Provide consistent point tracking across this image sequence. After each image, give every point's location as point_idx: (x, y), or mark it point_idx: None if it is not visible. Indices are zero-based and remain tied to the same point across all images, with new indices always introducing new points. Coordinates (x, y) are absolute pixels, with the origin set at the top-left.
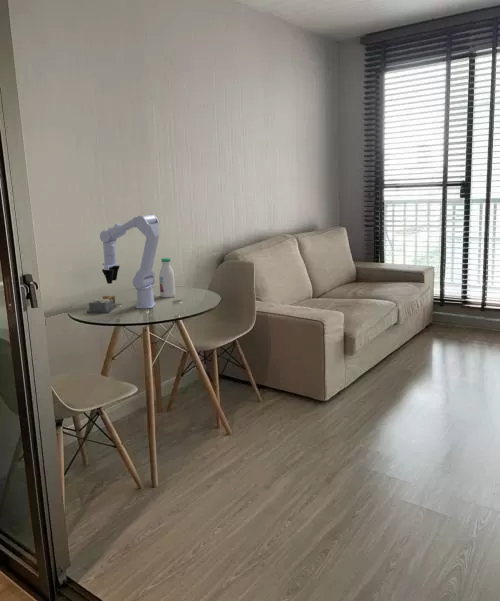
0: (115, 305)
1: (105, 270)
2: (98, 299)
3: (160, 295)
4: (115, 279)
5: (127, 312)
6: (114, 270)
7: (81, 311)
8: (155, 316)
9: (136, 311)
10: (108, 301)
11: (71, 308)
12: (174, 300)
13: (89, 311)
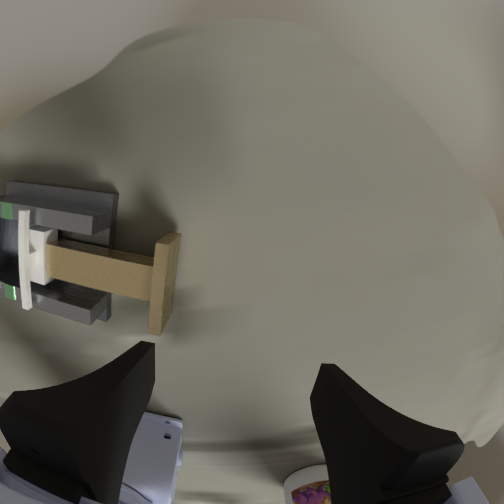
0: (101, 319)
1: (12, 443)
2: (83, 224)
3: (312, 468)
4: (312, 401)
5: (37, 363)
6: (346, 476)
7: (46, 134)
8: None
9: None
10: (39, 301)
11: (123, 52)
12: (234, 495)
13: (5, 194)
